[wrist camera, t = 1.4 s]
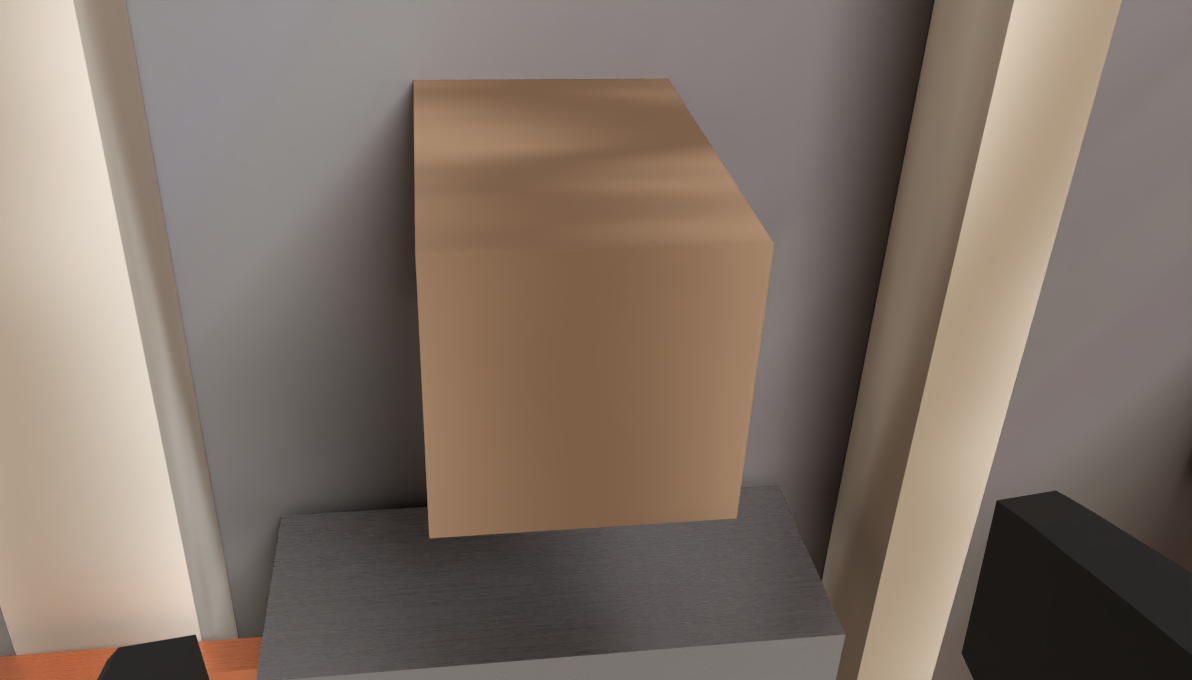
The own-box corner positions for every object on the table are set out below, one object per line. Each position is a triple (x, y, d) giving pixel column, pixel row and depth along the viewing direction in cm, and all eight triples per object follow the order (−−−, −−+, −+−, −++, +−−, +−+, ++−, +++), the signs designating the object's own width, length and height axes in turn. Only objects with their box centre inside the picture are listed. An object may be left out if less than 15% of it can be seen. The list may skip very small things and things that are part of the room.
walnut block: (668, 78, 17) (774, 244, 12) (651, 298, 20) (735, 517, 14) (413, 80, 17) (415, 254, 12) (424, 306, 19) (428, 538, 14)
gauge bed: (1112, -348, 15) (1354, -356, 11) (817, 889, 30) (878, 1072, 26) (-221, -421, 13) (-496, -463, 9) (169, 963, 27) (129, 1178, 23)
